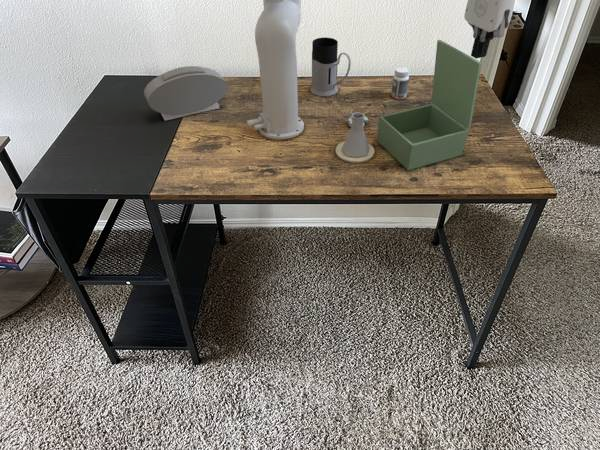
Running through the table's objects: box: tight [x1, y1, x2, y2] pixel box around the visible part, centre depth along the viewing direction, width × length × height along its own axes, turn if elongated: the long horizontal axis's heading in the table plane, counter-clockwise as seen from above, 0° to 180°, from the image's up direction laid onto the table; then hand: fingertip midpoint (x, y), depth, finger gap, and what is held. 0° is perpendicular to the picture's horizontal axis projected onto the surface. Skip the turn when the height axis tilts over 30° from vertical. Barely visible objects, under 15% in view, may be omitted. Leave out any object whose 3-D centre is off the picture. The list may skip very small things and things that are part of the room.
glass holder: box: [310, 36, 352, 97], centre depth 137 cm, size 9×14×15 cm, turn 46°
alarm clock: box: [143, 65, 229, 121], centre depth 131 cm, size 23×6×13 cm, turn 115°
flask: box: [342, 111, 369, 157], centre depth 113 cm, size 7×7×10 cm
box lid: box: [430, 39, 482, 130], centre depth 109 cm, size 17×15×1 cm
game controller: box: [339, 109, 369, 129], centre depth 128 cm, size 6×12×3 cm, turn 49°
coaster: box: [335, 140, 376, 164], centre depth 117 cm, size 10×10×1 cm
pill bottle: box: [390, 66, 410, 100], centre depth 137 cm, size 5×5×8 cm
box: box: [376, 103, 469, 171], centre depth 116 cm, size 16×15×7 cm
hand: (478, 56), depth 107 cm, fingers closed
